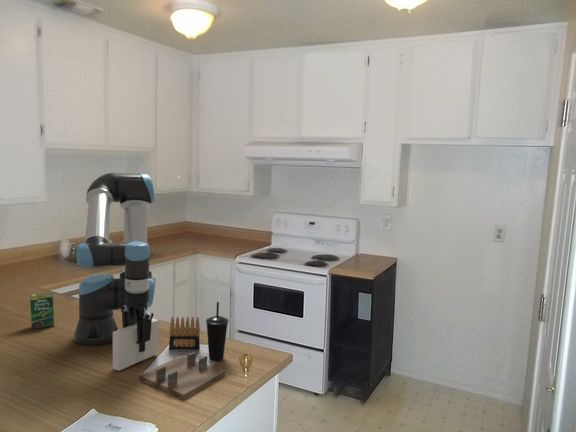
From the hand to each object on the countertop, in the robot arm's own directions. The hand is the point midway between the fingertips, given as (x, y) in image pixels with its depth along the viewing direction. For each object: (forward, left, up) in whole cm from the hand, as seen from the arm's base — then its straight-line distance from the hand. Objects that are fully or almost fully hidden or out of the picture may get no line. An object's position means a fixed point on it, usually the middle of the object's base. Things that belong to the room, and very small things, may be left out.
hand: (136, 358), depth 151 cm
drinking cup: (+18, +19, -2) cm, 26 cm away
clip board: (+19, +2, -1) cm, 19 cm away
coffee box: (-53, -1, -2) cm, 53 cm away
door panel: (0, 0, -1) cm, 1 cm away
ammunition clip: (+4, +18, -2) cm, 18 cm away
